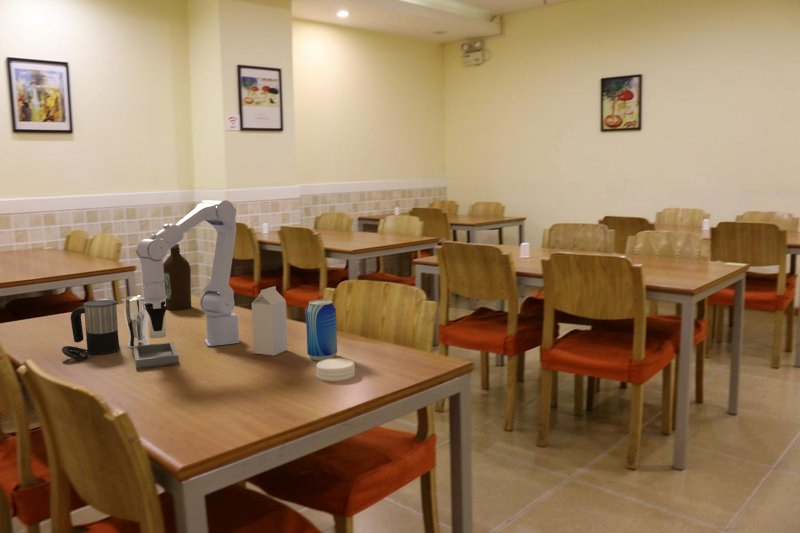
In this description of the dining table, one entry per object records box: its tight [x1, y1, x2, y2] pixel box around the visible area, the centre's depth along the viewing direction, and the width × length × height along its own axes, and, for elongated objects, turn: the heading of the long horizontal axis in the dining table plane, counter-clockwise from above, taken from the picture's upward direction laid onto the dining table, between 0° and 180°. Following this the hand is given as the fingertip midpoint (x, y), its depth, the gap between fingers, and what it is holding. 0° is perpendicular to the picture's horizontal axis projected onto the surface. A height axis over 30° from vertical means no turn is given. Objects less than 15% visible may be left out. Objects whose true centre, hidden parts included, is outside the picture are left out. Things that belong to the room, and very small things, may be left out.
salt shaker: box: [148, 313, 167, 339], centre depth 189 cm, size 4×4×8 cm
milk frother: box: [61, 299, 121, 361], centre depth 196 cm, size 14×16×15 cm
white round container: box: [315, 357, 356, 382], centre depth 173 cm, size 10×10×4 cm
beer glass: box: [123, 295, 150, 349], centre depth 205 cm, size 7×7×15 cm
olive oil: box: [163, 243, 192, 311], centre depth 260 cm, size 11×11×25 cm
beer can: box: [305, 299, 338, 361], centre depth 189 cm, size 8×8×16 cm
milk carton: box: [251, 285, 289, 357], centre depth 195 cm, size 7×7×19 cm
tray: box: [132, 341, 180, 370], centre depth 190 cm, size 11×16×3 cm
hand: (157, 328), depth 189 cm, fingers closed on salt shaker, 4 cm apart
